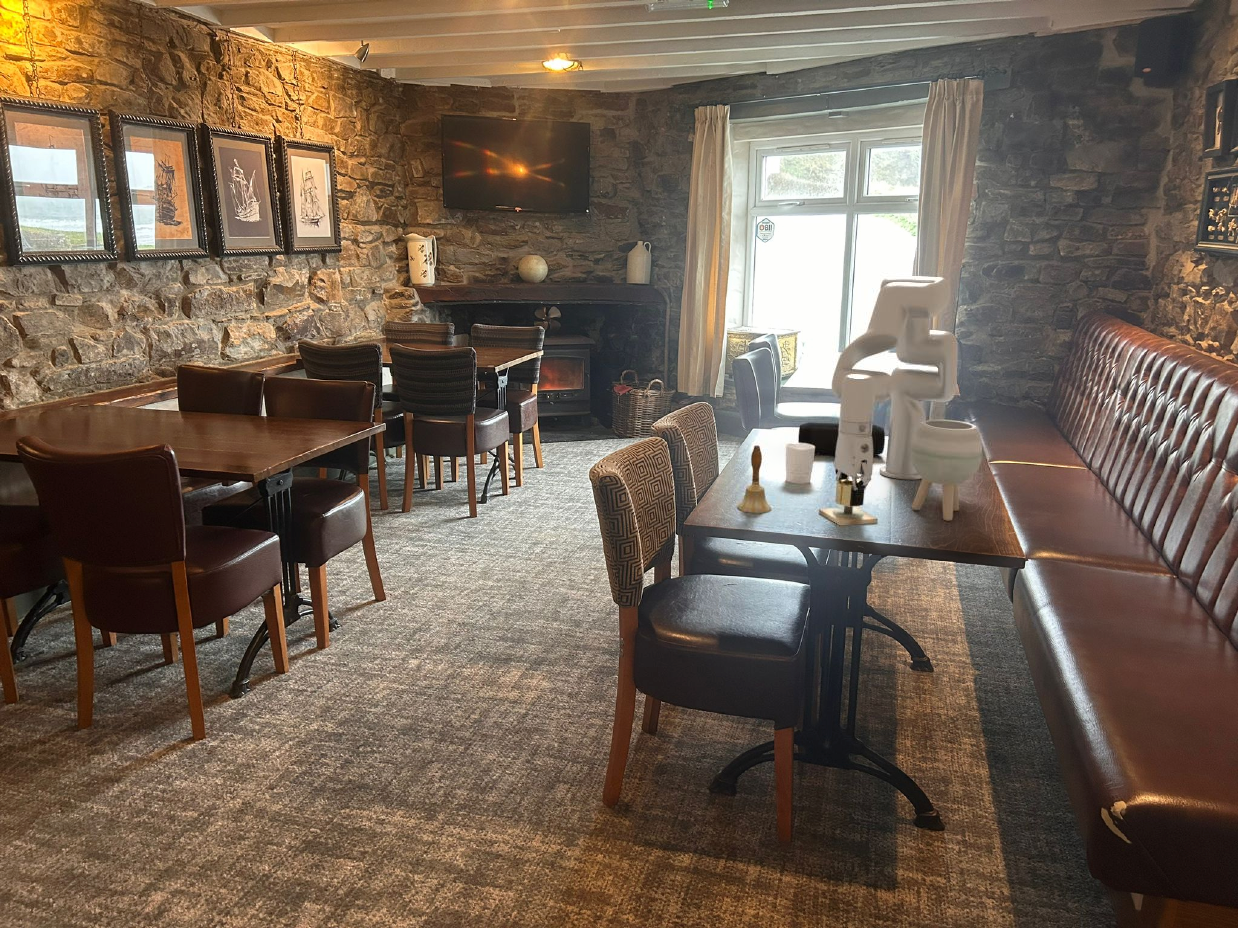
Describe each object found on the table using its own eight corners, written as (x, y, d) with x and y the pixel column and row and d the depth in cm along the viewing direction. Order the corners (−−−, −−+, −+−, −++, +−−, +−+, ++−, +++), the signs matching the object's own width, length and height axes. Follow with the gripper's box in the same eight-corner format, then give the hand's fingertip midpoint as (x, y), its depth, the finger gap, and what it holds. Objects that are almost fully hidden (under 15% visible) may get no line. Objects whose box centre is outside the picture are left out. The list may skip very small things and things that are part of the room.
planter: (968, 507, 215) (979, 420, 210) (979, 526, 200) (991, 433, 195) (901, 502, 219) (910, 416, 213) (907, 520, 204) (917, 428, 198)
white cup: (812, 485, 233) (815, 449, 231) (783, 483, 235) (785, 448, 232) (812, 478, 241) (814, 443, 238) (783, 476, 242) (786, 442, 240)
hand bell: (763, 515, 206) (767, 451, 202) (731, 509, 210) (735, 446, 206) (776, 507, 212) (780, 444, 209) (745, 501, 217) (748, 440, 213)
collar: (853, 498, 208) (855, 478, 206) (866, 505, 202) (868, 485, 201) (831, 500, 206) (832, 480, 205) (843, 507, 200) (845, 486, 199)
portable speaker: (800, 456, 267) (802, 425, 264) (797, 449, 276) (799, 419, 274) (883, 460, 264) (886, 428, 262) (877, 452, 274) (880, 422, 271)
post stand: (855, 510, 211) (857, 481, 209) (877, 522, 201) (880, 492, 200) (818, 512, 208) (821, 483, 206) (839, 525, 199) (841, 494, 197)
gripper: (890, 434, 192) (882, 510, 197) (850, 420, 209) (844, 490, 213) (860, 436, 190) (853, 512, 195) (823, 421, 207) (817, 492, 211)
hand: (849, 500), depth 204 cm, fingers closed on collar, 6 cm apart
